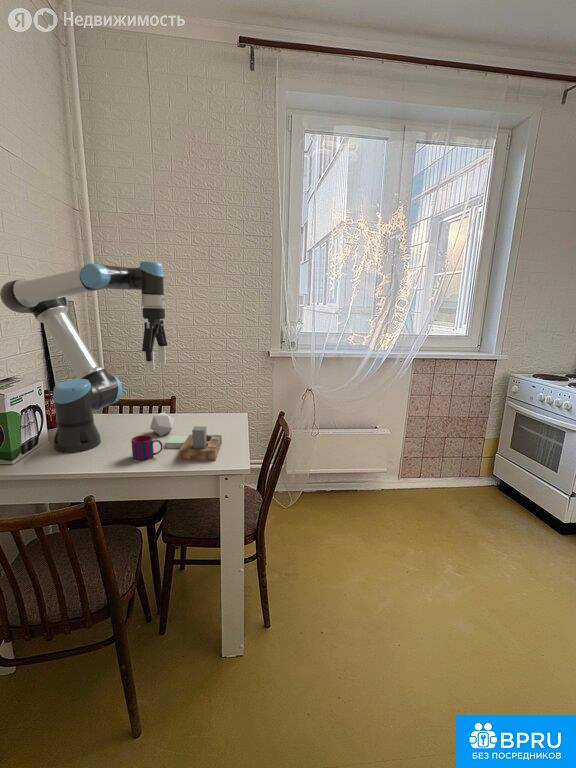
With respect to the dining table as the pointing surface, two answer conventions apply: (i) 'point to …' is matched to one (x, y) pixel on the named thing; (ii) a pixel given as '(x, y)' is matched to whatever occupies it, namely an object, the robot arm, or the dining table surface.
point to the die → (162, 424)
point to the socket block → (201, 454)
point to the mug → (143, 447)
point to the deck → (176, 441)
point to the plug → (199, 437)
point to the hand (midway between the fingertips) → (156, 366)
